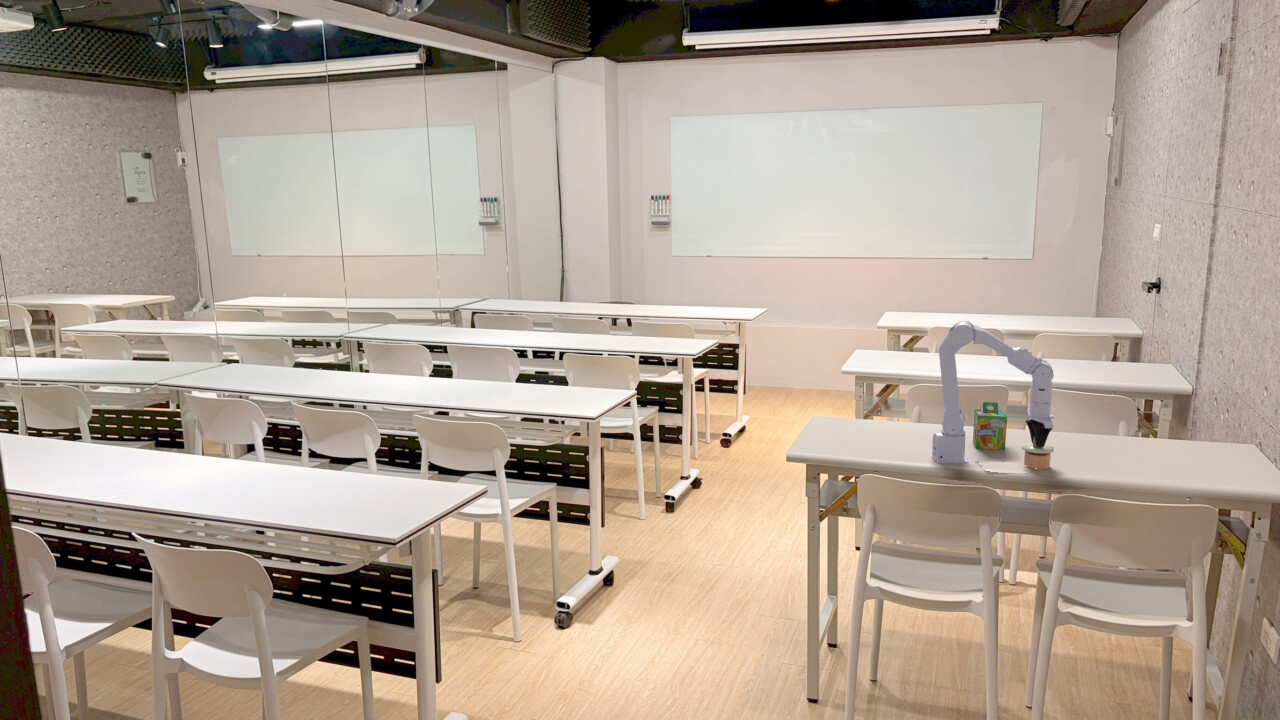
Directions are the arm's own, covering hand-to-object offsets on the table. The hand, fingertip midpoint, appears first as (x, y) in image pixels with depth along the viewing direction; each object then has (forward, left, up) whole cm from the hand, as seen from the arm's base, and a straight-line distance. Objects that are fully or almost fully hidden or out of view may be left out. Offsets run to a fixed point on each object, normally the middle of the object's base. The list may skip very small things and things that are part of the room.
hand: (1038, 445), depth 260 cm
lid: (0, 0, -1) cm, 1 cm away
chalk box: (-7, +22, -7) cm, 24 cm away
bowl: (0, 0, -7) cm, 7 cm away
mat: (-11, -1, -7) cm, 13 cm away
